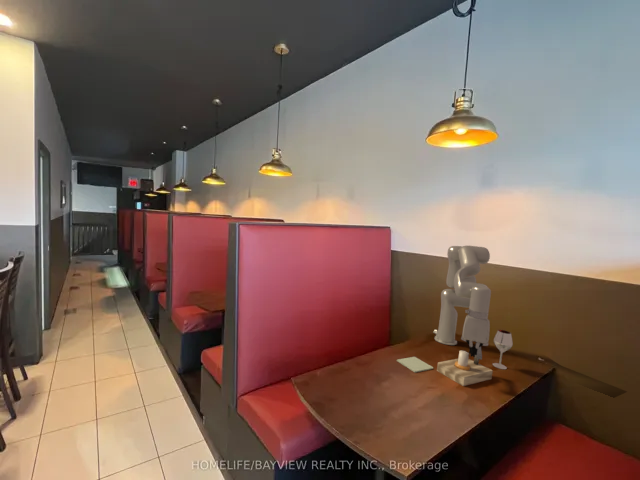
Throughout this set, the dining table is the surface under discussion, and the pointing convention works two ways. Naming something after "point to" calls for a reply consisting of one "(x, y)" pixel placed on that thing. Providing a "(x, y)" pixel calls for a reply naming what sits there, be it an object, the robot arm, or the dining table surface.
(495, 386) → the dining table surface
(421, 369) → the mat
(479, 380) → the socket block
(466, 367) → the plug
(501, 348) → the wineglass
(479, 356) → the grey bar
